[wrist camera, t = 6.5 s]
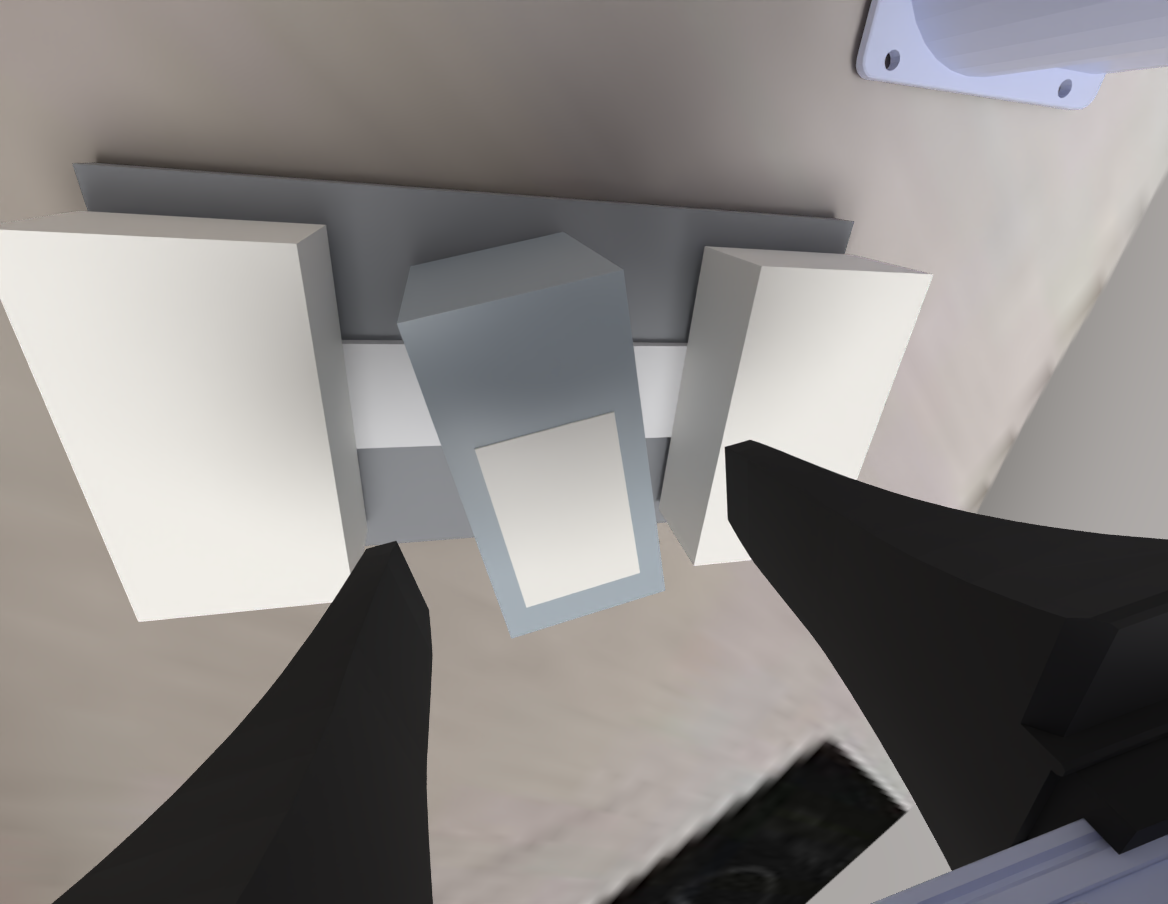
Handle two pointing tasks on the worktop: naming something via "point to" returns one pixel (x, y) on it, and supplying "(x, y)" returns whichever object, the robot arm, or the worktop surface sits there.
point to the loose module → (539, 422)
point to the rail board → (400, 363)
